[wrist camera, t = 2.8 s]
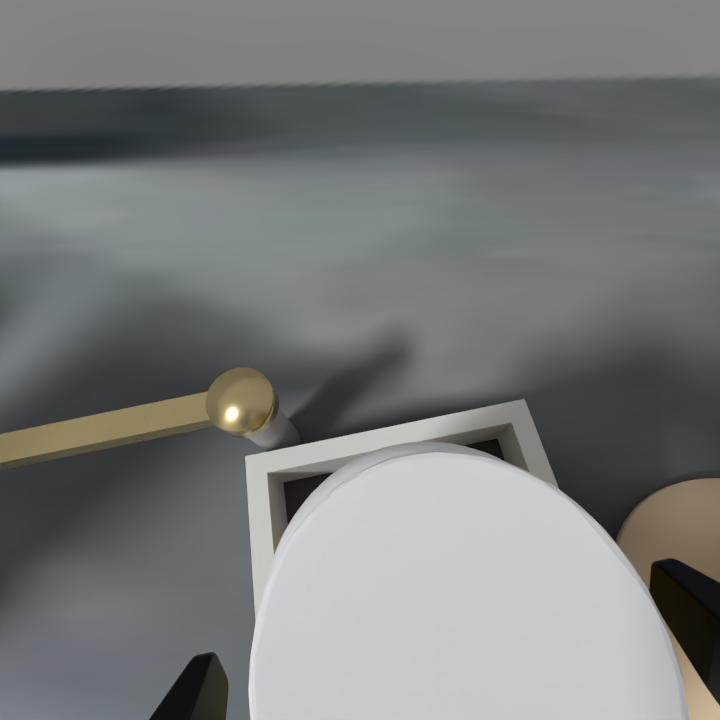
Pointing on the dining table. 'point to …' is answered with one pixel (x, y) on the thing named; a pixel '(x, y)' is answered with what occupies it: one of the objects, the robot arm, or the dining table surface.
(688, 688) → the coaster
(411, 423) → the socket collar
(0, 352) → the dining table surface
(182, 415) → the brass lever handle
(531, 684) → the supplement bottle
